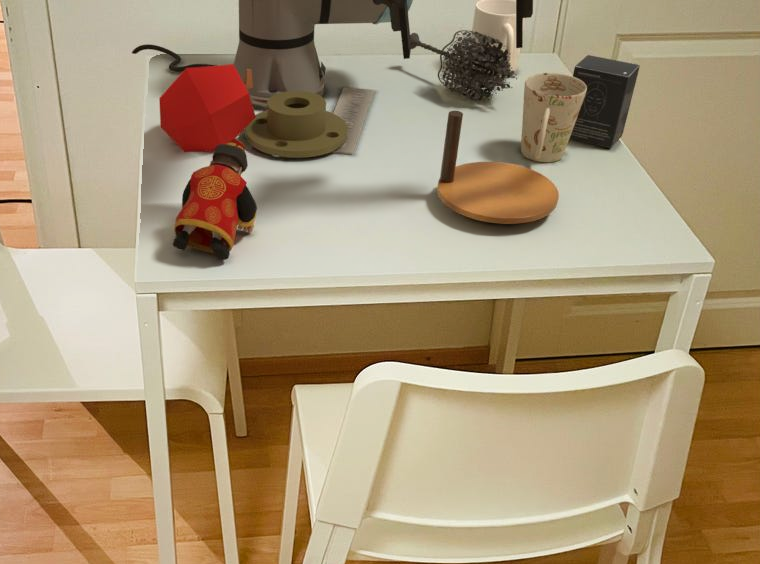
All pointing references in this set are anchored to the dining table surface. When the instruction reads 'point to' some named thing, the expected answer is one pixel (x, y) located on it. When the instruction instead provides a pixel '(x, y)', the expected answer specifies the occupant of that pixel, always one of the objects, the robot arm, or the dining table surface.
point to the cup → (498, 26)
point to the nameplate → (352, 115)
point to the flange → (296, 126)
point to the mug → (549, 114)
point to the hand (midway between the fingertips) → (462, 47)
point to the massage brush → (463, 64)
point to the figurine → (216, 203)
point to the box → (604, 99)
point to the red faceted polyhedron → (206, 107)
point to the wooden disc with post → (492, 186)
